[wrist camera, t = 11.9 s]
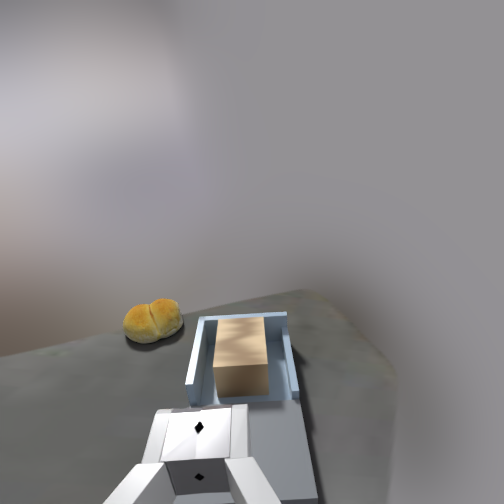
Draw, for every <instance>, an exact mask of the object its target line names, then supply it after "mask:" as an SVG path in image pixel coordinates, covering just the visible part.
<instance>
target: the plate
mask: <svg viewBox="0 0 504 504" xmlns="http://www.w3.org/2000/svg"><path fill="white" fill-rule="evenodd" d="M240 404H248V410H249V421H250V433H251V457H254V459H255V461H256V462H257V464H258V466H259V467H260V469H261V471H262V472H263V474H264V476H265V477H266V479H267V481H268V482H269V484H270V486H271V487H272V489H273V491H274V492H275V494H276V495H277V497H278V499H279V500H280V502H281V504H318V495H317V490H316V485H315V479H314V474H313V469H312V463H311V458H310V452H309V447H308V442H307V436H306V431H305V426H304V420H303V415H302V410H301V404H300V399H297V400H280V401H263V402H247V403H230V404H213V405H196V406H189V408H201V407H208V406H220V405H240ZM173 504H235V502H234V500H233V498H232V495H231V492H222V493H199V494H189V495H178V496H176V499H175V501H174V503H173Z"/></svg>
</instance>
